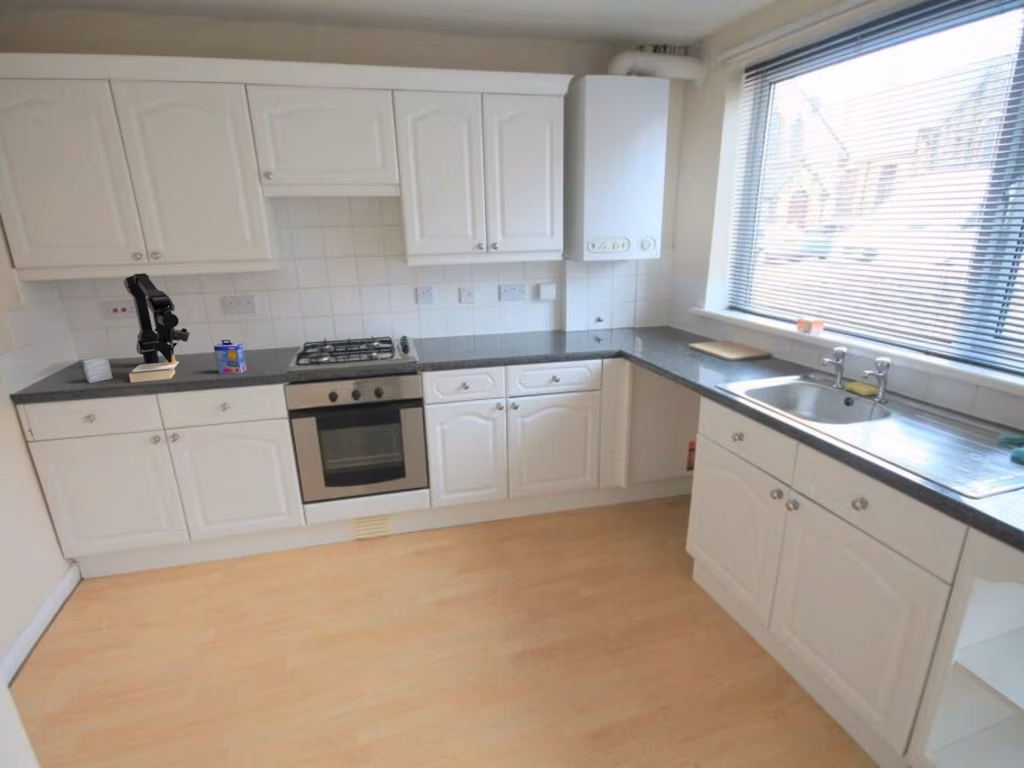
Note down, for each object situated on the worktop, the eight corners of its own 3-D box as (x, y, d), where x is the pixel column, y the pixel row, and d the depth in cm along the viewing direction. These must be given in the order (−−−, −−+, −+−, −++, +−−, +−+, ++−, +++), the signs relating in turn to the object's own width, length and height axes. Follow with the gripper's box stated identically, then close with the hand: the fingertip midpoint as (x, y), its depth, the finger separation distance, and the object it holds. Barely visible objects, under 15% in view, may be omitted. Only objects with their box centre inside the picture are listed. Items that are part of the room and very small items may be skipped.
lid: (139, 366, 226) (137, 355, 225) (178, 362, 231) (176, 352, 230) (133, 372, 217) (130, 361, 215) (174, 368, 222) (171, 357, 220)
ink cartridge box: (217, 373, 229) (211, 340, 224) (223, 370, 234) (218, 337, 230) (241, 373, 229) (235, 340, 225) (247, 369, 234) (241, 337, 230)
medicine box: (109, 377, 226) (104, 357, 224) (113, 379, 223) (108, 358, 221) (87, 381, 220) (81, 361, 218) (90, 383, 218) (84, 362, 215)
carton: (137, 376, 226) (135, 367, 225) (175, 372, 231) (173, 363, 230) (130, 382, 218) (128, 373, 216) (170, 378, 222) (168, 369, 221)
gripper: (181, 327, 215) (189, 364, 220) (189, 319, 232) (196, 355, 236) (149, 329, 211) (157, 367, 216) (159, 321, 228) (167, 357, 233)
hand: (170, 361), depth 225 cm, fingers closed on lid, 2 cm apart
